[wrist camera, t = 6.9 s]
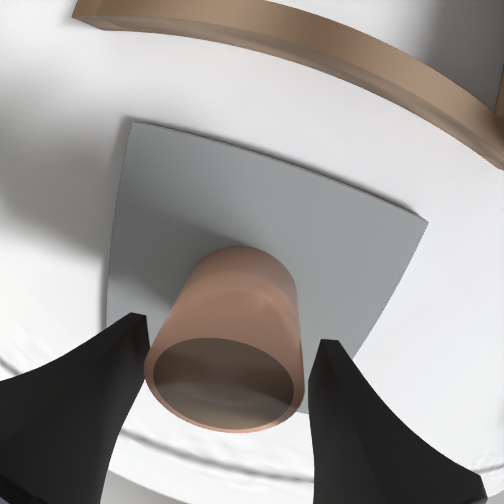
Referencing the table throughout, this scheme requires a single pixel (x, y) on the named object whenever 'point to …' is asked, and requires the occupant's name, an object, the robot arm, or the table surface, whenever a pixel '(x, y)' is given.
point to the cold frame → (316, 56)
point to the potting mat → (253, 234)
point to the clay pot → (231, 345)
